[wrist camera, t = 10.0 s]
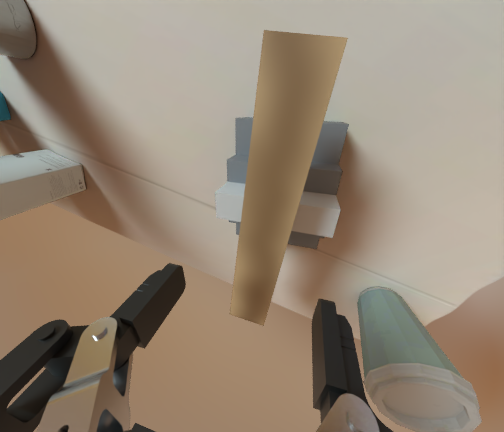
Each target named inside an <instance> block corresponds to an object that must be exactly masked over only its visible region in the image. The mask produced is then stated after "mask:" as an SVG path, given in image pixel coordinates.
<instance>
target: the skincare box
mask: <svg viewBox="0 0 504 432" xmlns="http://www.w3.org/2000/svg"><path fill="white" fill-rule="evenodd" d="M84 190H86V186H85V182H84V174H83V168H82V165H81V164H79V163H76V162H73V161H71V160H69V159H66V158H64V157H62V156H60V155H58V154H56V153H54V152H52V151H50V150H47V149H45V150H38V151H32V152H25V153H19V154H13V155H6V156H0V220H2V219H5V218H8V217H10V216H13V215H16V214H19V213H22V212H24V211H27V210H30V209H33V208H36V207H38V206H41V205H44V204H47V203H50V202H53V201H56V200H58V199H61V198H64V197H67V196H70V195H73V194H75V193H78V192H81V191H84Z"/></svg>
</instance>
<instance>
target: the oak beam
mask: <svg viewBox="0 0 504 432" xmlns="http://www.w3.org/2000/svg"><path fill="white" fill-rule="evenodd" d="M347 39H348V38H343V37H333V36H322V35H311V34H300V33H289V32H278V31H267V30H264V34H263V43H262V51H261V59H260V67H259V76H258V84H257V92H256V100H255V109H254V117H253V125H252V133H251V142H250V150H249V158H248V167H247V175H246V183H245V191H244V200H243V208H242V216H241V224H240V233H239V241H238V249H237V257H236V266H235V274H234V282H233V290H232V299H231V307H230V314H231V315H234V316H237V317H239V318H243V319H245V320H248V321H251V322H254V323H257V324H260V325H264V322H265V319H266V316H267V312H268V309H269V305H270V302H271V298H272V295H273V292H274V288H275V285H276V281H277V278H278V275H279V271H280V268H281V264H282V261H283V257H284V254H285V251H286V247H287V244H288V240H289V237H290V234H291V230H292V227H293V223H294V220H295V216H296V213H297V210H298V206H299V203H300V199H301V196H302V193H303V189H304V186H305V182H306V179H307V175H308V172H309V169H310V165H311V162H312V158H313V155H314V152H315V148H316V145H317V141H318V138H319V134H320V131H321V128H322V124H323V121H324V117H325V114H326V111H327V107H328V104H329V100H330V97H331V93H332V90H333V87H334V83H335V80H336V76H337V73H338V70H339V66H340V63H341V59H342V56H343V52H344V49H345V46H346V42H347Z"/></svg>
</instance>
